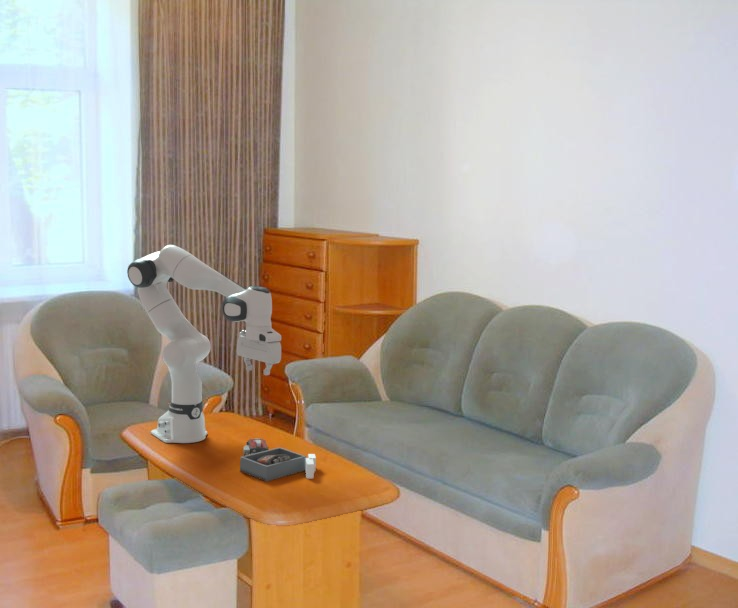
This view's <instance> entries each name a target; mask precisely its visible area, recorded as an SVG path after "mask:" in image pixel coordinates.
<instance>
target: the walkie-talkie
mask: <svg viewBox="0 0 738 608" xmlns="http://www.w3.org/2000/svg"><path fill="white" fill-rule="evenodd" d="M242 449H243V455H244V454H245V455H244V456H246V455H249V454H254V453H258V452H262V451H267V450H269V447H268V445H267V442H266V440H265V439H263V438H250V439H249V440H247V441H246V445H244V446H243V447H242Z"/></svg>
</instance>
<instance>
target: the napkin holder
mask: <svg viewBox="0 0 738 608" xmlns="http://www.w3.org/2000/svg"><path fill="white" fill-rule="evenodd" d="M316 463H317V457H316V454H315V453H308V454H307V457H306V460H305V471H304V472H305V473H306V474H305V473H304V474H305V478H306V479H314V474H315V472H316V467H317V465H316ZM314 471H315V472H314Z"/></svg>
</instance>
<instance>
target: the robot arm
mask: <svg viewBox="0 0 738 608" xmlns="http://www.w3.org/2000/svg"><path fill="white" fill-rule="evenodd" d="M126 273H127V274H126V275H127V277H128V280H129V281H130V283H131V284H132V285H133V286H134V287H136V288H137V294H138V297H139V300H140V302H141V304H142V307H143V309H144V311H145V312H146V314H147V316H148V318H149V319H150V320H151V322H152V324H153V326H154V328H155V329H156V331H157V332H158V333H159V334H161V335H163V336H165V338H166V339H168V340H169V343H167V344H166V345H165V346H164V348H163V350H162V353H161V355H162V361H163V362H164V364H165V365H166V366H167V368H168V372H169V375H170V380H171V401H167V406H168V410H167V411H166V412H164V414H162V415H161V416H159V418H158V419H157V428H154V429H152V430H150V434H151V435H153V436H154V437H156V438H157V439H158V440H160V441H162V442H163V443H166V444H168V443H169V444H171V443H175V444H176V443H177V444H191V443H198V442H201V441H204V440H205V439H206V436H207V435H208V430H206V423H205V421H206V420H205V414H204V412H203V410H204V404H203V403H204V402H203V398H202V395H203V391H202V390H203V381H202V379H201V378H200V376H199V375H198V374H199V373H198V371H197V370H198V368H197V363H199V362H202V361H203V360H204V359H206V357H207V356H208V355H209V354H210V353H211V349H212V345H211V341H210V340H209V338H208V337H207V336H206V335H204V334H202V333H200V331H199V330H198V329H197V328H196V327H194V325H192V323H191V322H190V321H189V320H188V319H187V318H186V316H185V315H184V314H183V312H182V311H181V309H180V307H179V305H178V304H177V302H176V301H175V299H174V297H173V295H172V294H171V293H170V291H169V289H168V283H169V282H170V283H172V282H174V281H175V282H177V283H178V284H179V285H181V286H183V287H185V288H187V289H190V290H193V291H194V290H195V291H196V290H199V291H202V290H203V291H211V292H212V291H213V292H215V293H218V294H221V296H224V297H225V298H224V299H223V301H222V303H221V313H222V315H223V317H224V318H225V320H227V321H228V322H232V323H233V322H234V323H238V322H245V329H241V330H240V332H239V333H238V338H237V343H236V354H237V356H239V357H242V358H243V361H244V364H245V370H246V371H248V372H251V371H252V370H253V366H254V365H253V364H252V363H251V360H255V361H259V362H262V363H264V364H265V367H264V368H265V369H263V370H262V371H263V375H264V376H270V374H271V370H272V368H273V365H276V364H279V363H280V362H281V360H282V344H281V341H282V335H281V334H280V333H279V332H278V331H276V330H275V329H273V328H272V320H271V319H272V314H273V300H272V298H273V297H272V294H271V291H270V289H268V288H267V287H264V286H258V285H251V286H248V288H245V287H244V286H242V285H241V284H239V283H238V282H235V281H234V280H232V279H231V278H230V277H228V276H226V275H225V274H222V273H220V272H219V271H217V270H215V269H214V268H212V267H210V266H209V265H207V264H206V263H204V262H203V261H202V260H200V259H199V258H197V257H196V256H195V255H193V254H192V253H190V252H189V251H187V250H185V249H183V247H179V246H178V245H175V244H168V245H165V246H164V247H163V248H162V249H160V250H159V251H155V252H152V253H148V254H147V255H145V256H142V257H140V258H137V259H135V260H133V261H132V262H131V263H130V264H128V266H127V271H126Z"/></svg>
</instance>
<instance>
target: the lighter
mask: <svg viewBox="0 0 738 608" xmlns="http://www.w3.org/2000/svg"><path fill="white" fill-rule="evenodd" d="M288 459H290V457H289V456H287V455H286V454H279V455H267V456H263V457H261V458H259V459H257V461H256V462H258V463H261V464H264V465H266V466H268V465H271V464H275V463H279V462H283V461H287V460H288Z"/></svg>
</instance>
